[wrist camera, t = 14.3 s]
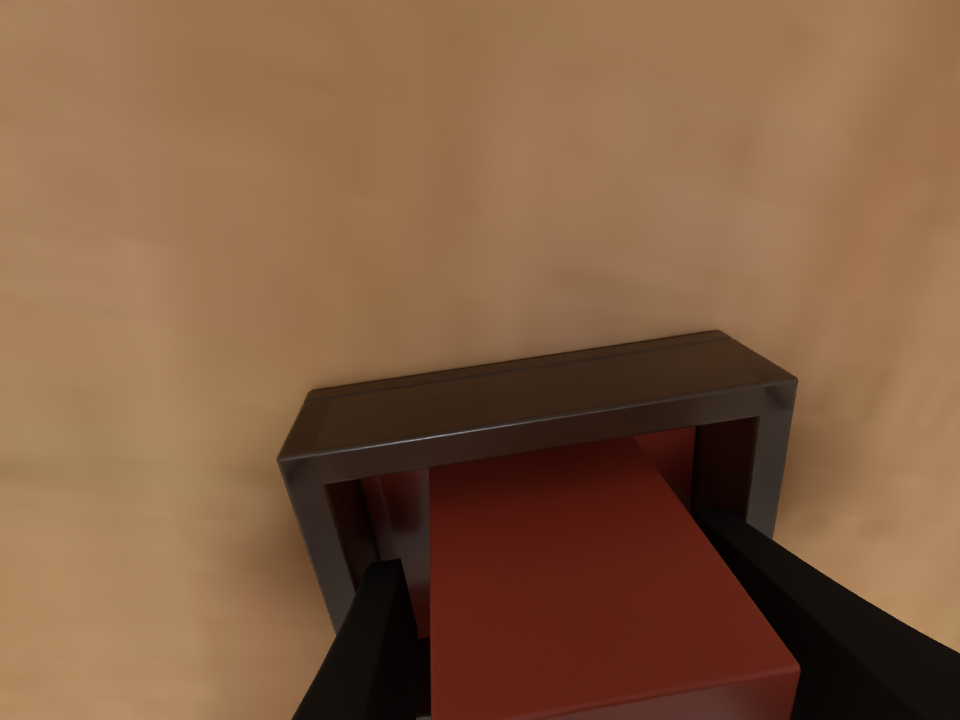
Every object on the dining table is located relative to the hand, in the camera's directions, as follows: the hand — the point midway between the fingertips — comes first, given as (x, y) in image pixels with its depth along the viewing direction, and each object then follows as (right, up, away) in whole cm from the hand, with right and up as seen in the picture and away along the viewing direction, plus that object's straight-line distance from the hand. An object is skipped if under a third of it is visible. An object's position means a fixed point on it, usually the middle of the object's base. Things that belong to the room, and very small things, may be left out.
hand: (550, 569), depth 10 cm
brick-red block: (0, +1, +1) cm, 1 cm away
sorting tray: (0, -2, +3) cm, 4 cm away
